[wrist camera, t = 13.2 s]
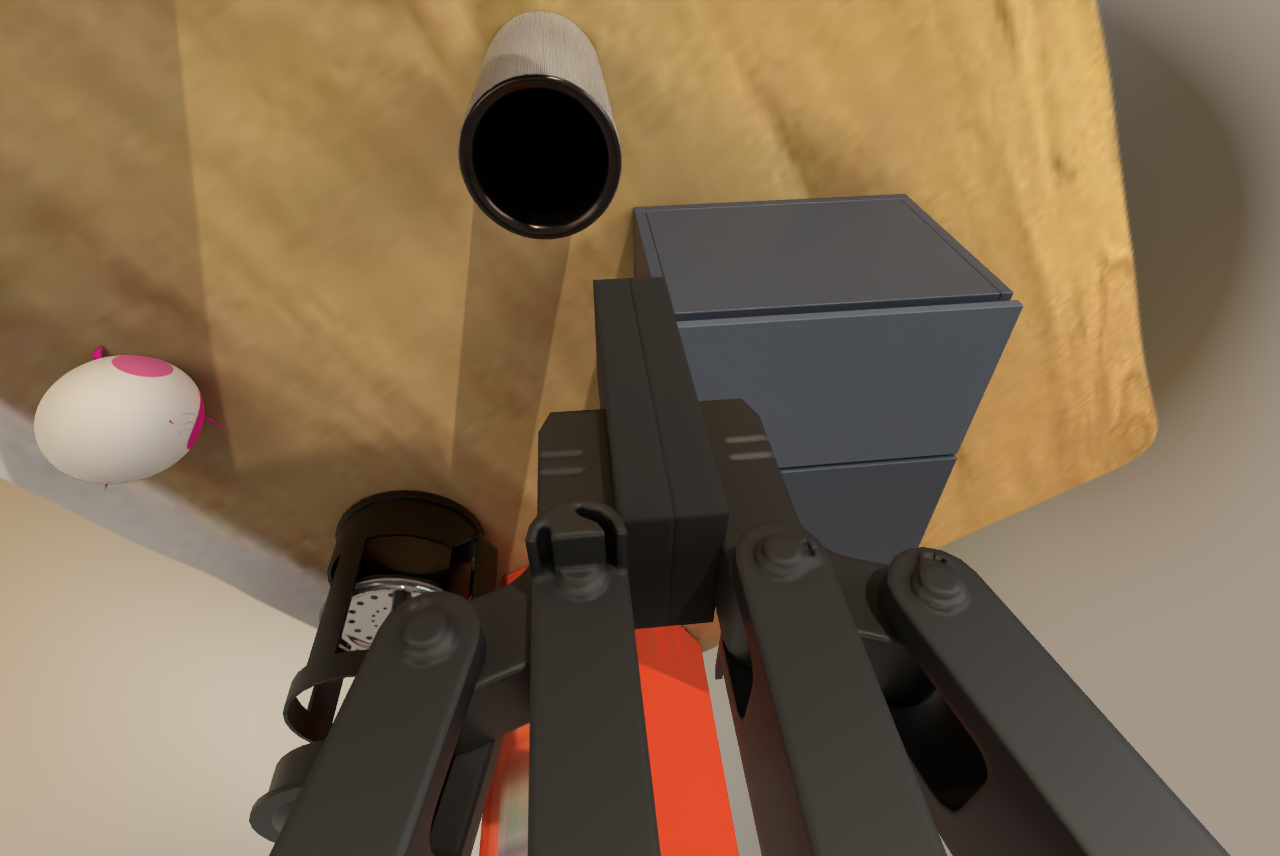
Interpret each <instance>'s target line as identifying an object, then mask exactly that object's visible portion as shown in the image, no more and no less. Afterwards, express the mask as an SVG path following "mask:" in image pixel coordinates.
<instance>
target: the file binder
mask: <svg viewBox="0 0 1280 856" xmlns="http://www.w3.org/2000/svg"><path fill="white" fill-rule="evenodd" d="M528 566H529V565H528ZM528 566H526V567H524V568H522V569H519V570H517V571H515V572H513V573H510V574H508V575H506V576H504V577H503V580H502V581H501V588H502V587H504V586H506V585H508V584H510V583H511V582H512V581H514V580H515V579H516V578H518V577H519V576H520V575H521V574H522V573H523V572H524V571H525V569H526V568H527V567H528ZM635 637H636V646H637V654H638V663H639V672H640V680H641V689H642V697H643V706H644V714H645V723H646V732H647V740H648V749H649V757H650V766H651V774H652V783H653V791H654V800H655V809H656V817H657V826H658V834H659V843H660V851H661V856H739V853H738V847H737V842H736V836H735V831H734V825H733V820H732V814H731V810H730V804H729V798H728V793H727V787H726V782H725V776H724V771H723V765H722V760H721V754H720V749H719V743H718V738H717V733H716V727H715V721H714V716H713V710H712V705H711V700H710V694H709V689H708V683H707V678H706V672H705V667H704V661H703V656H702V650H701V645H700V644H699V643H698V642H697V641H696V640H695V639H694V638H693V637H692V636H691V635H690V634H689V633H688V632H687V631H686V630H685V629H684V628H683V627H682V626H681V625H675V626H665V627H654V628H644V629H635ZM529 734H530V723H528V724H526V725H524V726H522V727H519V728H517V729H515V730H513V731H511V732H509V733H506V734H505V735H504V739H503V742H502V746H501V749H500V753H499V757H498V760H497V764H496V767H495V771H494V774H493V778H492V781H491V785H490V789H489V792H488V796H487V799H486V803H485V806H484V810H483V815H482V827H481V828H482V829H481V841H480V852H479V856H528V795H529Z"/></svg>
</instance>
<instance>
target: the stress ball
mask: <svg viewBox="0 0 1280 856" xmlns="http://www.w3.org/2000/svg"><path fill="white" fill-rule="evenodd" d="M91 357H94V358H95V360H93V361H90V362H87V363H85V364H82V365H80V366H78V367H76V368H74V369H73V370H71V371H69V372H68V373H66V374H65V375H63V376H62V377H61V378H60V379H58V380H57V381H56V382H55V383H54V384H53V385H52V386H51V387H50V388H49V389H48V391H47V392H46V393H45V395H44V396H43V398H42V399H41V401H40V403H39V405H38V408H37V411H36V414H35V419H34V434H35V438H36V442H37V445H38V447H39V449H40V451H41V452H42V454H43V455H44V457H45V458H46V459H47V460H48V461H49V462H50V463H51V464H52V465H53V466H54V467H56V468H57V469H58V470H60V471H62V472H63V473H65V474H67V475H69V476H71V477H74V478H76V479H79V480H83V481H87V482H92V483H100V484H106V485H105V490H106V487H107V484H120V483H128V482H133V481H138V480H142V479H145V478H148V477H151V476H153V475H155V474H158V473H160V472H162V471H164V470H166V469H167V468H169V467H171V466H172V465H174V464H175V463H176V462H177V461H179V460H180V459H181V458H182V457H183V456H184V455H185V454H186V453H187V452H188V451H189V450H190V449H191V448H192V446H193V445H194V444H195V442H196V440H197V439H198V437H199V435H200V432H201V430H202V427H203V423H204V419H206V420H208V421H210V422H212V423H214V424H216V425H218V426H220V427H222V426H221V425H219V424H217V423H216V422H214V421H212V420H211V419H209V418H207V417H206V416H205V409H204V402H203V398H202V395H201V393H200V391H199V389H198V387H197V386H196V384H195V383H194V382H193V380H192V379H191V378H190V377H189V376H188V375H187V374H186V373H184V372H183V371H182V370H180V369H179V368H177V367H175V366H174V365H172V364H170V363H168V362H165V361H163V360H160V359H156V358H152V357H147V356H140V355H116V356H109V357H104V358H102V345H101V346H100V347H99V348H98V349H97V350H96V351H95V352H94V353H93V355H92V356H91ZM222 428H224V427H222ZM224 429H226V428H224ZM226 430H227V429H226ZM228 431H229V430H228Z"/></svg>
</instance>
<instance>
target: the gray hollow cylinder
mask: <svg viewBox="0 0 1280 856" xmlns="http://www.w3.org/2000/svg"><path fill="white" fill-rule="evenodd" d="M458 156H459V165H460V170H461V174H462V177H463V180H464V183H465V185H466V187H467V190H468V191H469V193H470V195H471V197H472V198H473V200H474V201H475V203H476V204H477V205H478V207H479V208H480V209H481V210H482V211H483V212H484V213H485V214H486V215H487V216H488V217H489V218H490V219H491V220H492V221H494V222H495V223H496V224H498V225H499V226H501V227H503V228H504V229H506V230H508V231H510V232H512V233H515V234H517V235H520V236H524V237H528V238H533V239H557V238H563V237H567V236H570V235H573V234H575V233H577V232H580V231H582V230H583V229H585V228H587V227H588V226H590V225H591V224H592V223H594V222H595V221H596V220H597V219H598V218H599V217H600V216H601V215H602V214H603V213H604V212H605V210H606V209H607V208H608V206H609V205H610V203H611V201H612V200H613V198H614V196H615V193H616V191H617V188H618V185H619V181H620V177H621V170H622V153H621V146H620V141H619V136H618V132H617V129H616V125H615V121H614V117H613V113H612V109H611V106H610V102H609V98H608V94H607V90H606V86H605V83H604V79H603V75H602V71H601V67H600V63H599V60H598V57H597V54H596V52H595V50H594V48H593V46H592V44H591V42H590V41H589V39H588V38H587V36H586V35H585V34H584V33H583V31H582V30H581V29H580V28H579V27H578V26H577V25H576V24H574V23H573V22H572V21H570V20H569V19H567V18H565V17H563V16H561V15H559V14H556V13H553V12H548V11H530V12H525V13H522V14H520V15H518V16H516V17H514V18H512V19H511V20H509V21H508V22H507V23H506V24H505V25H504V26H503V27H502V28H501V29H500V30H499V31H498V33H497V34H496V35H495V37H494V38H493V40H492V42H491V44H490V46H489V49H488V52H487V55H486V57H485V60H484V63H483V66H482V69H481V72H480V75H479V78H478V80H477V83H476V86H475V89H474V92H473V95H472V98H471V101H470V103H469V106H468V109H467V112H466V115H465V118H464V121H463V124H462V128H461V132H460V137H459V145H458Z"/></svg>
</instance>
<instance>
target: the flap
mask: <svg viewBox="0 0 1280 856" xmlns="http://www.w3.org/2000/svg"><path fill="white" fill-rule="evenodd" d="M1022 308H1023V305H1022V304H1021V303H1020V302H1019V301H1018V300H1013V301H997V302H981V303H965V304H949V305H933V306H917V307H901V308H885V309H869V310H853V311H837V312H821V313H805V314H789V315H773V316H757V317H741V318H725V319H710V320H694V321H678V322H677V326H678V329H679V333H680V336H681V340H682V344H683V347H684V351H685V354H686V358H687V362H688V365H689V369H690V372H691V376H692V380H693V383H694V387H695V390H696V394H697V398H698V401H710V400H726V399H741V398H742V399H743V400H744V401H745V402H746V403H747V404H748V405H749V406H750V407H751V408H752V409H753V410H754V411H755V412H756V413H757V414H758V415H759V416H760V419H761V421H762V424H763V426H764V429H765V432H766V434H767V440H768V441H769V442H770V445H771V448H772V450H773V453H774V458H776V461H777V463H778V466H779V468H785V467H797V466H810V465H822V464H834V463H847V462H859V461H872V460H884V459H896V458H909V457H921V456H933V455H946V454H957V453H958V450H959V448H960V446H961V444H962V441H963V439H964V437H965V435H966V432H967V430H968V428H969V426H970V424H971V421H972V419H973V417H974V415H975V412H976V410H977V408H978V406H979V404H980V401H981V399H982V397H983V395H984V392H985V390H986V388H987V386H988V384H989V381H990V379H991V377H992V375H993V372H994V370H995V368H996V366H997V364H998V361H999V359H1000V357H1001V355H1002V352H1003V350H1004V348H1005V346H1006V344H1007V341H1008V339H1009V337H1010V335H1011V332H1012V330H1013V328H1014V326H1015V323H1016V321H1017V319H1018V317H1019V315H1020V312H1021V310H1022Z"/></svg>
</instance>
